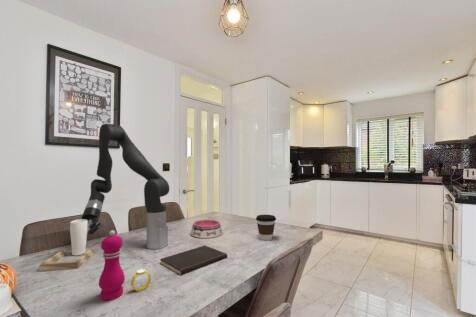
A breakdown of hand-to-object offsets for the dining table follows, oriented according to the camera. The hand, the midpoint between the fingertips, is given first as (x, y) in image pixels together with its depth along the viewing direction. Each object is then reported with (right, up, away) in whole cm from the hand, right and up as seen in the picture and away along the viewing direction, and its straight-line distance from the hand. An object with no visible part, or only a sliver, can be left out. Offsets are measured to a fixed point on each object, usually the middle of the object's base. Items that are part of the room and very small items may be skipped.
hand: (82, 242), depth 115 cm
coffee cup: (+88, -4, +16) cm, 90 cm away
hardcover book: (+55, -4, -12) cm, 56 cm away
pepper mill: (+34, -4, -39) cm, 52 cm away
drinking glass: (+1, -5, -3) cm, 6 cm away
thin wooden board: (+2, -4, -12) cm, 12 cm away
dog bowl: (+55, -5, +27) cm, 62 cm away
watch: (+42, -4, -35) cm, 55 cm away
